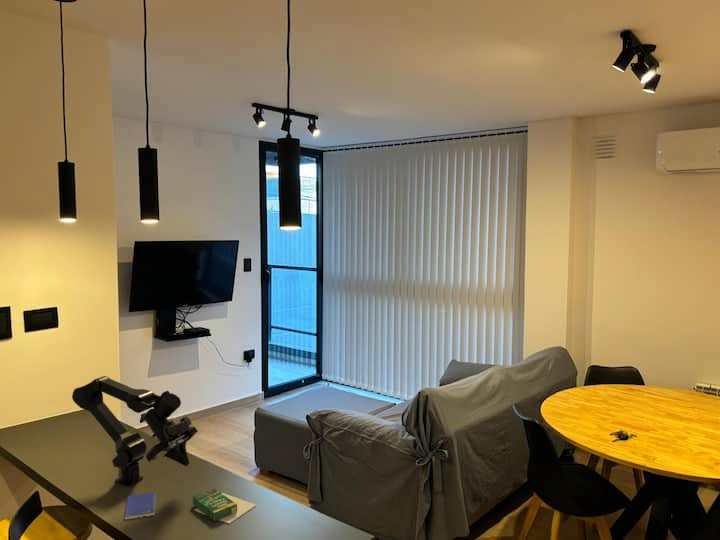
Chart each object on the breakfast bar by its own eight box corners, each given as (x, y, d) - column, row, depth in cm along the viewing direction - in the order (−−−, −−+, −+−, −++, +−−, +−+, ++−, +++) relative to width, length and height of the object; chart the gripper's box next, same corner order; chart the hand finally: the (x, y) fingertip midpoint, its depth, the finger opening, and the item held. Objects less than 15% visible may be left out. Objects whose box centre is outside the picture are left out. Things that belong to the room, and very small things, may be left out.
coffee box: (216, 487, 175) (237, 503, 166) (216, 496, 176) (237, 512, 166) (192, 495, 170) (213, 512, 160) (192, 504, 170) (213, 522, 161)
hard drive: (154, 511, 164) (155, 492, 176) (124, 516, 162) (127, 495, 173) (154, 516, 164) (155, 496, 176) (124, 521, 162) (127, 500, 173)
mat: (194, 510, 167) (194, 509, 167) (222, 493, 178) (222, 492, 178) (229, 524, 160) (229, 523, 160) (256, 505, 171) (256, 504, 171)
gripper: (153, 421, 167) (182, 463, 164) (193, 402, 184) (220, 440, 181) (133, 441, 170) (161, 483, 168) (174, 421, 188) (200, 458, 185)
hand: (187, 465), depth 175 cm, fingers closed
